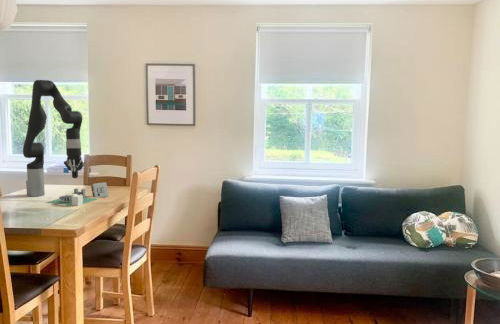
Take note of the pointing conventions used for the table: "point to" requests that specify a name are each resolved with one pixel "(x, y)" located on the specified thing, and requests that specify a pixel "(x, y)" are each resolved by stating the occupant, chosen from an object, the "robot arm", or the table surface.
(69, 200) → the white slotted block
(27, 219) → the table surface
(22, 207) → the table surface
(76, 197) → the latch
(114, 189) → the table surface
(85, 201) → the board
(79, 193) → the thin grey panel
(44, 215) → the table surface
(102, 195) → the electrical switch
